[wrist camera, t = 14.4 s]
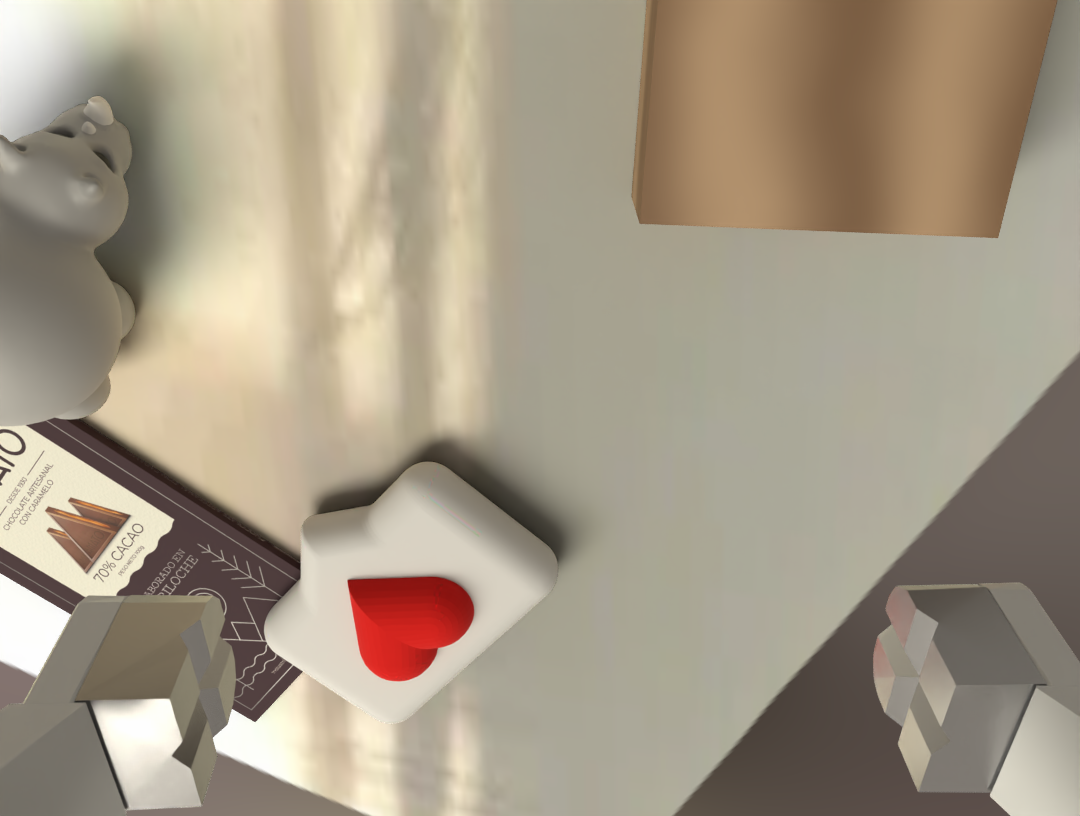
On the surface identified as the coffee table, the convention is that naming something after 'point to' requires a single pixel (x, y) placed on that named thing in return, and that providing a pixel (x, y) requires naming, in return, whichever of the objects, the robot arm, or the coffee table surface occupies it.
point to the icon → (407, 591)
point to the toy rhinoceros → (61, 265)
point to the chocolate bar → (136, 542)
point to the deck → (835, 113)
